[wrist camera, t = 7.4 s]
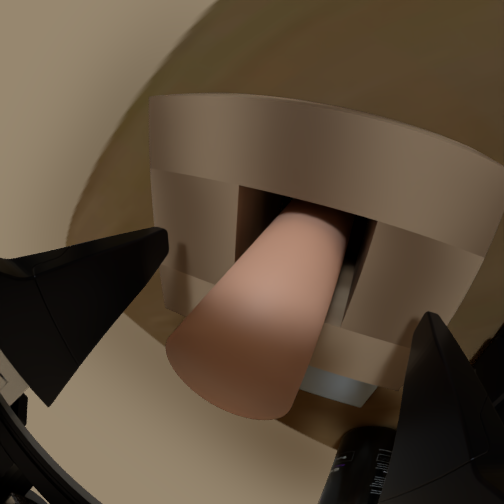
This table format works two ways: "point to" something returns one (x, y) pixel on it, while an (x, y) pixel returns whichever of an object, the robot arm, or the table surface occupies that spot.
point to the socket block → (331, 195)
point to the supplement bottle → (359, 467)
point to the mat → (336, 387)
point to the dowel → (264, 315)
